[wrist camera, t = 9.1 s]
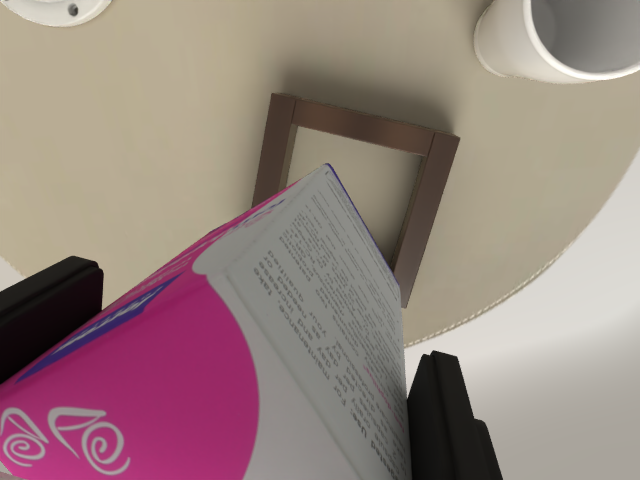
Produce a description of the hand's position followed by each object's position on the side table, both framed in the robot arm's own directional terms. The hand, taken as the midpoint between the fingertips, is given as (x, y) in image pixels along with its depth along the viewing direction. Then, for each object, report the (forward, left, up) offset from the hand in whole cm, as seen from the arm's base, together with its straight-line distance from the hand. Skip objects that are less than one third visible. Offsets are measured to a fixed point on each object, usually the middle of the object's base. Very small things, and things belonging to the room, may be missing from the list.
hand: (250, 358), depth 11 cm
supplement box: (0, 0, -8) cm, 8 cm away
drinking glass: (+9, +12, -27) cm, 31 cm away
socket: (0, -2, -26) cm, 27 cm away
